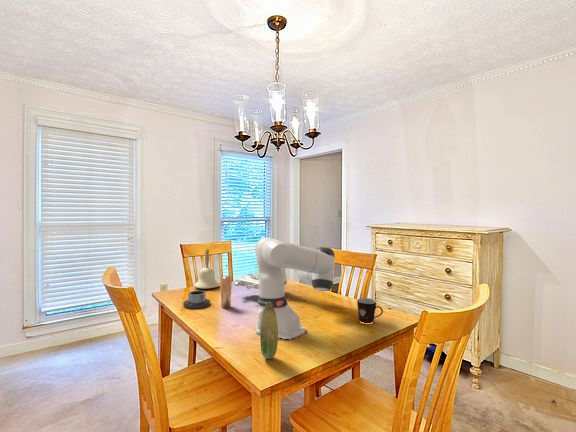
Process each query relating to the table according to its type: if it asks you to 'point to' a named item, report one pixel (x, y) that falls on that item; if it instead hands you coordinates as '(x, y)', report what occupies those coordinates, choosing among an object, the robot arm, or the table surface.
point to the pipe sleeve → (196, 300)
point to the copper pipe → (226, 292)
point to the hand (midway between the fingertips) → (241, 285)
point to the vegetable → (269, 331)
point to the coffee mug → (367, 309)
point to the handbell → (206, 275)
